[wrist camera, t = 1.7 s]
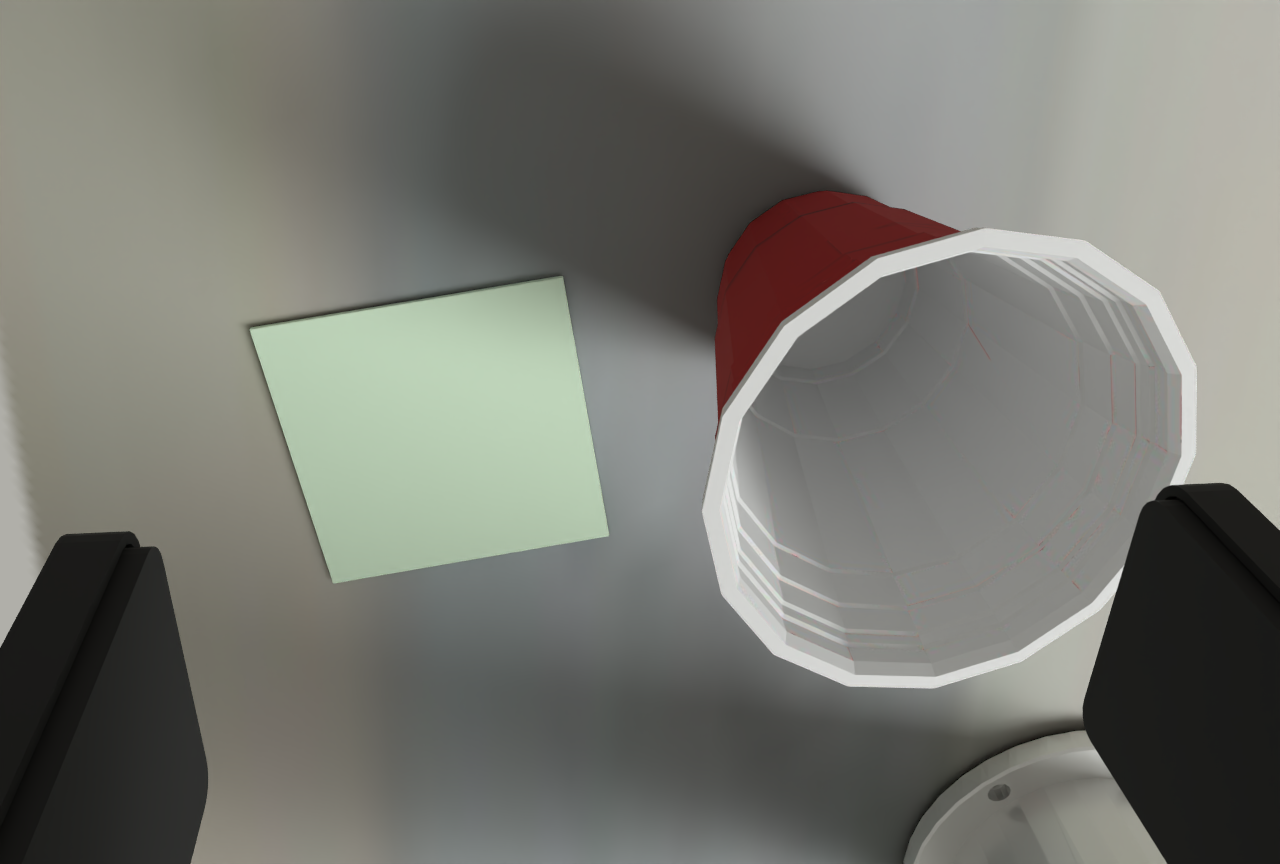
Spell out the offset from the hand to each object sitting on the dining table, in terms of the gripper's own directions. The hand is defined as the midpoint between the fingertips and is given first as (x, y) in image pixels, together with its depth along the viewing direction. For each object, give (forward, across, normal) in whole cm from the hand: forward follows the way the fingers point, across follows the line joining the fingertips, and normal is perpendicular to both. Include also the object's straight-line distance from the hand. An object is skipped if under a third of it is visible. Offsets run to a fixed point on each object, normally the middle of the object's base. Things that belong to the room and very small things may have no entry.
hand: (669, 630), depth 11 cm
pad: (+22, +3, +11) cm, 25 cm away
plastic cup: (+22, -8, +6) cm, 25 cm away
